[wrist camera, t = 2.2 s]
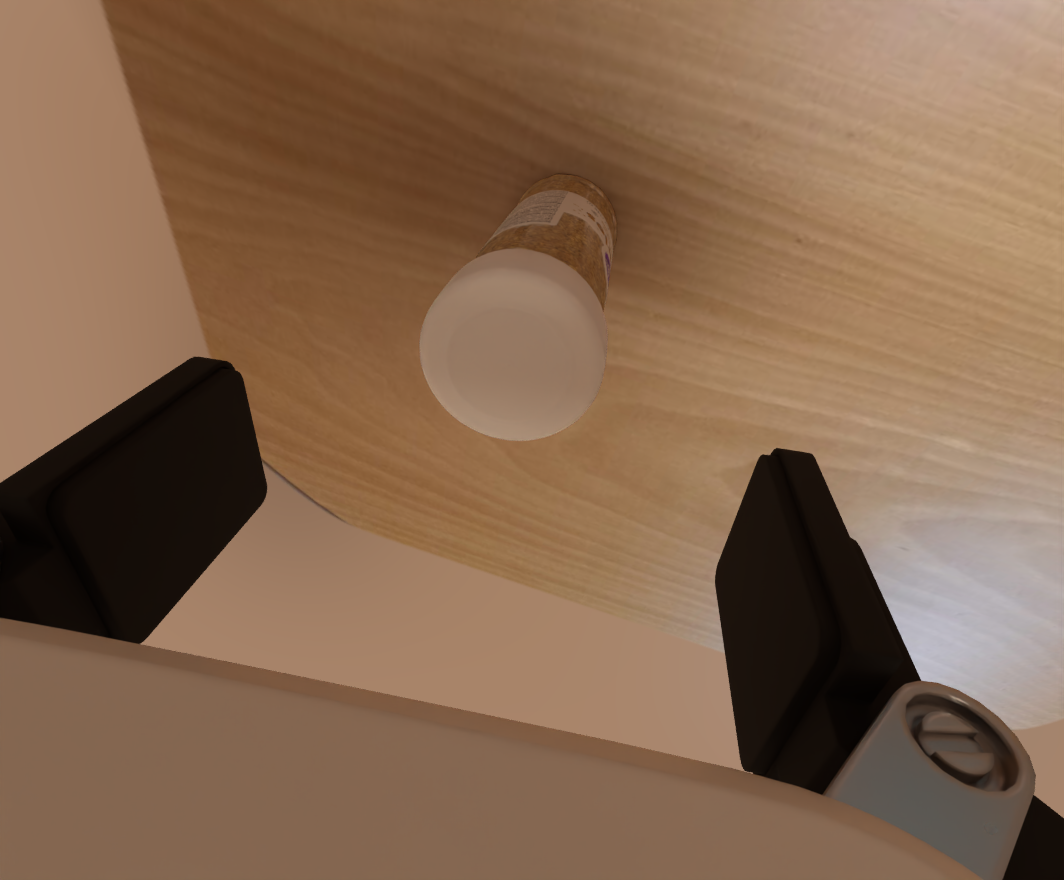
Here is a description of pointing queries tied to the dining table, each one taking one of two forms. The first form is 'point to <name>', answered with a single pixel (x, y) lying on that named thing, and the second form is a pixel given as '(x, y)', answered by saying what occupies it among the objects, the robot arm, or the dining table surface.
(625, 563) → the dining table surface
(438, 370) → the sprinkles bottle
